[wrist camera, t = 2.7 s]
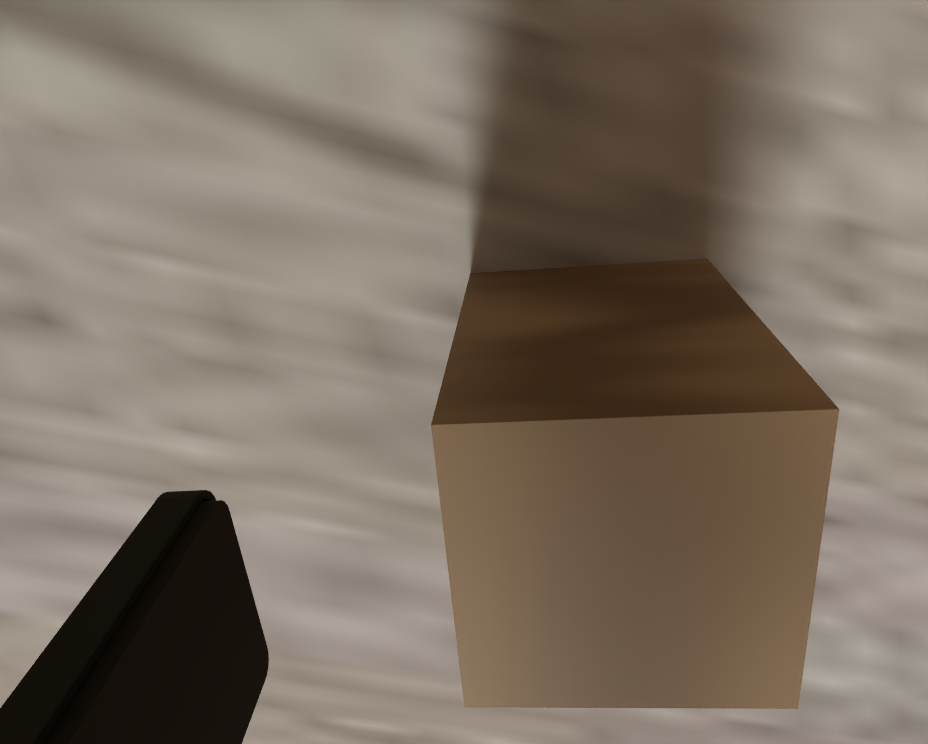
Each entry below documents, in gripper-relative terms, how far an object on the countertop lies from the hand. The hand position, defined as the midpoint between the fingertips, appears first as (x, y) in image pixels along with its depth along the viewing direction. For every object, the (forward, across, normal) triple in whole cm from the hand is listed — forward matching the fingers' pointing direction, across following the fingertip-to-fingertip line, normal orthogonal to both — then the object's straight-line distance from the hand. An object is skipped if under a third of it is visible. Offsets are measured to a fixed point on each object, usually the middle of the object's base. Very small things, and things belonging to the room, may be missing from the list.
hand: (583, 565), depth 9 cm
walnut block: (+7, -1, +1) cm, 8 cm away
